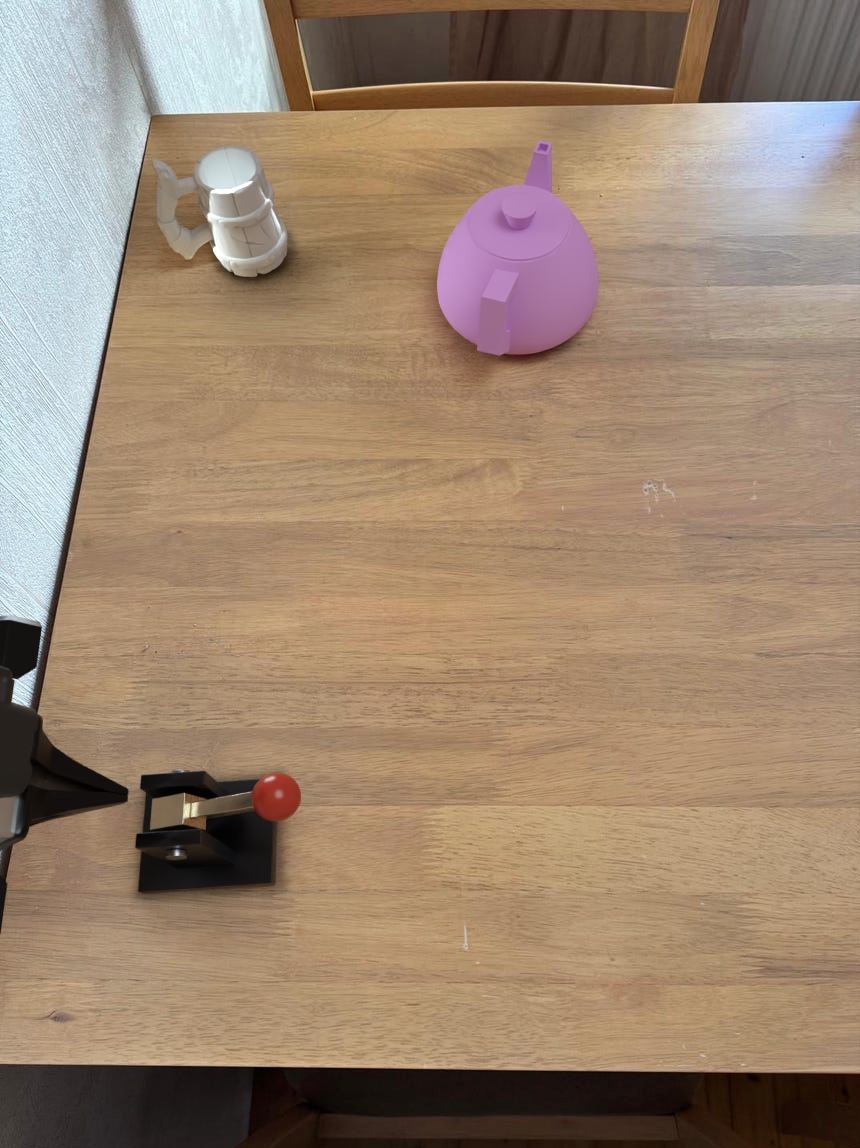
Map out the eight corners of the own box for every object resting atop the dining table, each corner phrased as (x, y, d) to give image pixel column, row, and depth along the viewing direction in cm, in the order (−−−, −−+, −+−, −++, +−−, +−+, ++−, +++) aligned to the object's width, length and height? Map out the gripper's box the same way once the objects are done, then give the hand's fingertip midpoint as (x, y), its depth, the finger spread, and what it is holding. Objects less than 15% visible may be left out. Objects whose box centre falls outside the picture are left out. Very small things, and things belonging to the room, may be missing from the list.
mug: (298, 269, 93) (270, 167, 82) (183, 296, 92) (139, 197, 81) (282, 216, 96) (254, 111, 85) (171, 242, 95) (127, 138, 84)
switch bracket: (278, 781, 72) (246, 746, 63) (275, 885, 69) (242, 863, 60) (151, 790, 72) (101, 756, 63) (143, 894, 69) (89, 874, 60)
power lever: (310, 774, 62) (283, 764, 59) (310, 821, 61) (282, 813, 58) (179, 798, 66) (148, 790, 63) (176, 843, 64) (144, 836, 62)
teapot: (571, 406, 86) (582, 314, 75) (412, 376, 87) (399, 281, 76) (615, 235, 94) (630, 129, 83) (468, 210, 96) (464, 103, 85)
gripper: (-165, 929, 39) (177, 936, 49) (-87, 545, 46) (197, 620, 57) (-218, 955, 46) (90, 956, 56) (-143, 619, 53) (118, 674, 64)
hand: (125, 796), depth 58 cm, fingers closed
